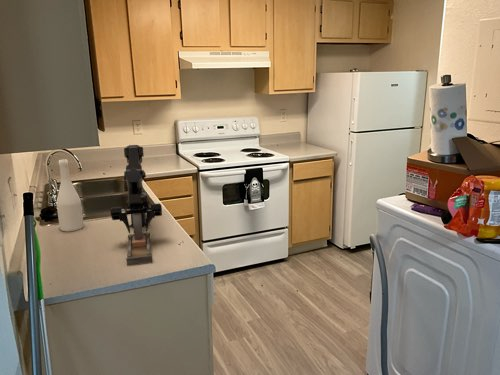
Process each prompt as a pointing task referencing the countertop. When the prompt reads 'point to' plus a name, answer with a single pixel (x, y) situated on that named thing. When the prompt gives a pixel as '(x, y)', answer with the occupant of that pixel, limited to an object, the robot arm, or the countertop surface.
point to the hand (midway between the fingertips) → (138, 231)
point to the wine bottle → (68, 202)
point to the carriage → (138, 231)
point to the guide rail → (139, 251)
